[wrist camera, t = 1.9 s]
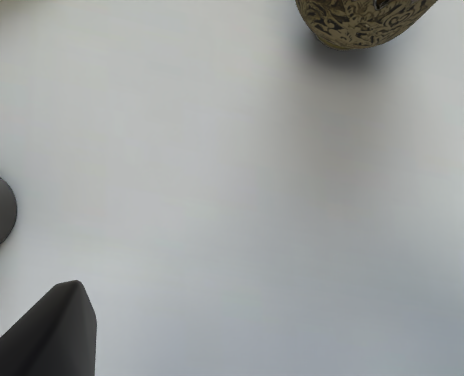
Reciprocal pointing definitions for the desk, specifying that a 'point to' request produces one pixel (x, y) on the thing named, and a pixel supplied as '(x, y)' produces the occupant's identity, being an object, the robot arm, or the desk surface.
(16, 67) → the desk surface
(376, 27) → the cup
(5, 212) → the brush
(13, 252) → the desk surface
